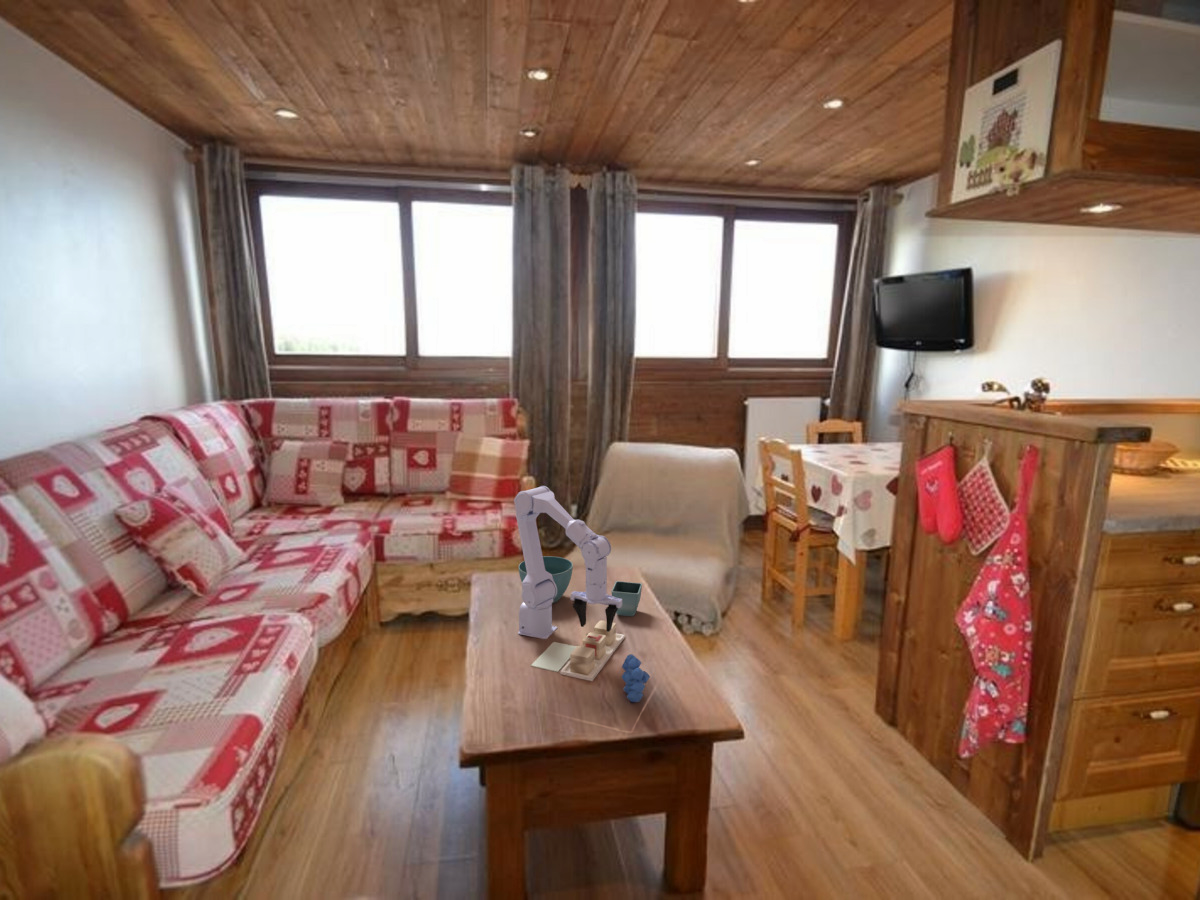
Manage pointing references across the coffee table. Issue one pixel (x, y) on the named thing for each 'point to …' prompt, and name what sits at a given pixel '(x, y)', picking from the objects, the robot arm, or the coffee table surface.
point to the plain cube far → (606, 632)
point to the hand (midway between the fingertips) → (596, 627)
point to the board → (554, 657)
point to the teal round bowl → (554, 573)
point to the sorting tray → (598, 663)
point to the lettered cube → (596, 644)
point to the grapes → (634, 678)
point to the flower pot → (627, 597)
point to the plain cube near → (582, 660)
